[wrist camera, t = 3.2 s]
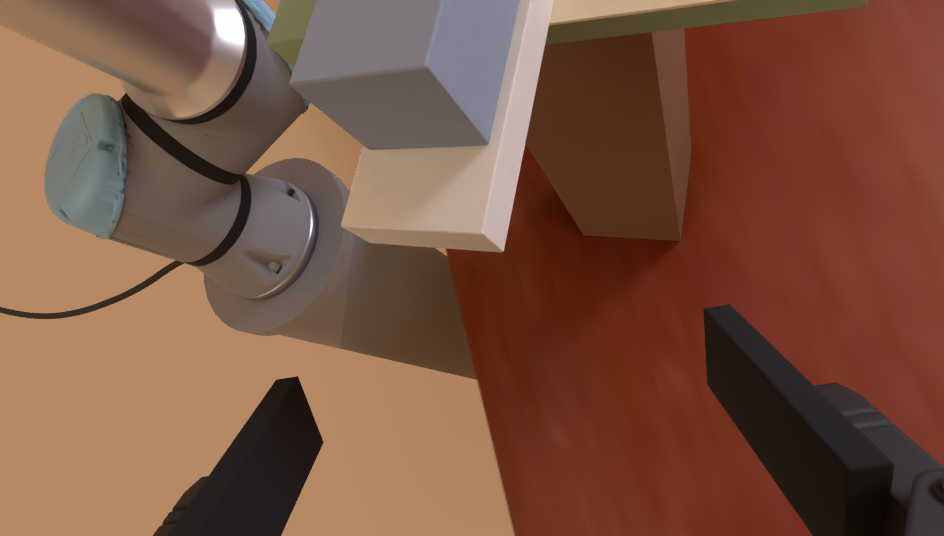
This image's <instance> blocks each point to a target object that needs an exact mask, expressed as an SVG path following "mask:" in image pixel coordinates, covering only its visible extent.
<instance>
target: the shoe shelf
mask: <svg viewBox="0 0 944 536" xmlns="http://www.w3.org/2000/svg"><path fill="white" fill-rule="evenodd" d="M315 2H316V0H281V1H280V4H279V7H278V10H277V13H276V16H275V19H274V22H273V25H272V27H271V30H270V33H269V36H268V39H267V42H266V43H267V45H268V46H269V47H271V48H272V49H273V50H274V51H275V52H276V53H277V54H279V55H280V56H281V57H282V58H283V59H284V60H285V61H286V62H288V63H289V64H290V65H291V66H292V67H293V68H294V66H295V63H296V60H297V57H298V54H299V51H300V48H301V45H302V42H303V39H304V36H305V32H306V29H307V26H308V23H309V20H310V17H311V14H312V11H313V8H314V5H315ZM868 2H869V0H554V2H553V7H552V12H551V17H550V22H549V27H548V32H547V37H546V42H545V47H544V52H543V57H542V62H541V67H540V72H539V77H538V82H537V87H536V92H535V97H534V102H533V107H532V112H531V117H530V122H529V127H528V132H527V137H526V142H525V143H526V145H527V146H528V148H529V150H530V151H531V153H532V154H533V156H534V157H535V159H536V161H537V162H538V164H539V165H540V167H541V169H542V170H543V172H544V173H545V175H546V177H547V178H548V180H549V181H550V183H551V185H552V186H553V188H554V189H555V191H556V192H557V194H558V196H559V197H560V199H561V200H562V202H563V204H564V205H565V207H566V208H567V210H568V212H569V213H570V215H571V216H572V218H573V220H574V221H575V223H576V224H577V226H578V227H579V229H580V231H581V232H582V234H583V235H584V236H601V237H618V238H635V239H652V240H669V241H681V235H682V227H683V219H684V210H685V202H686V193H687V185H688V177H689V168H690V160H691V138H690V121H689V103H688V86H687V68H686V51H685V33H684V28H692V27H700V26H709V25H717V24H726V23H734V22H743V21H751V20H760V19H768V18H777V17H785V16H794V15H802V14H811V13H819V12H828V11H836V10H845V9H854V8H862V7H866V6H867V4H868Z"/></svg>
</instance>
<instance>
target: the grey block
mask: <svg viewBox="0 0 944 536" xmlns="http://www.w3.org/2000/svg"><path fill="white" fill-rule="evenodd" d="M553 2H554V0H316V2H315V5H314V8H313V11H312V14H311V17H310V20H309V23H308V26H307V29H306V32H305V36H304V39H303V42H302V45H301V48H300V51H299V54H298V57H297V60H296V63H295V66H294V70H293V73H292V76H291V79H290V82H289V85H290V86H291V87H292V88H294V89H295V90H296V91H297V92H298V93H300V94H301V95H302V96H303V97H305V98H306V99H307V100H308V101H310V102H311V103H312V104H313V105H315V106H316V107H317V108H318V109H319V110H321V111H322V112H323V113H324V114H326V115H327V116H328V117H330V118H331V119H332V120H333V121H334V122H336V123H337V124H338V125H339V126H340V127H342V128H343V129H344V130H345V131H347V132H348V133H349V134H351V135H352V136H353V137H354V138H355V139H357V140H358V141H359V142H360V143H362V144H363V147H362V151H361V155H360V158H359V161H358V165H357V169H356V172H355V176H354V180H353V183H352V187H351V190H350V194H349V197H348V201H347V204H346V208H345V212H344V215H343V219H342V222H341V227H342V228H344V229H346V230H348V231H350V232H351V233H353V234H355V235H357V236H359V237H361V238H362V239H364V240H366V241H368V242H370V243H379V244H392V245H406V246H420V247H434V248H447V249H461V250H475V251H489V252H503V251H504V247H505V242H506V237H507V232H508V227H509V222H510V217H511V212H512V207H513V202H514V197H515V192H516V187H517V182H518V177H519V172H520V167H521V162H522V157H523V152H524V147H525V142H526V137H527V132H528V127H529V122H530V117H531V112H532V107H533V102H534V97H535V92H536V87H537V82H538V77H539V72H540V67H541V62H542V57H543V52H544V47H545V42H546V37H547V32H548V27H549V22H550V17H551V12H552V7H553Z"/></svg>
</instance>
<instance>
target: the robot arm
mask: <svg viewBox="0 0 944 536" xmlns="http://www.w3.org/2000/svg"><path fill="white" fill-rule="evenodd" d="M275 16H276V15H275V13H273V11H272V10H271V9H270V8H269V7H268V6H267V5H266V4H265V2H263V0H0V26H3V27H5V28H7V29H9V30H11V31H14V32H16V33H18V34H20V35H23V36H25V37H27V38H29V39H31V40H34V41H36V42H38V43H41V44H43V45H45V46H48V47H49V48H52V49H54V50H56V51H58V52H61V53H63V54H65V55H67V56H69V57H72V58H74V59H76V60H78V61H81V62H83V63H85V64H87V65H90V66H92V67H94V68H97V69H99V70H101V71H103V72H105V73H108V74H110V75H112V76H114V77H116V78H119V80H120V82H121V85H122V87H123V88H124V90H125V91H126V93H125V95H124V96H123V97H122V98H121V99H120V100H119V101H116V100H115V99H114V98H112V97H110V96H107V95H101V94H90V95H87V96H86V98H84V99H80V100H79V101H78V102H77V103H76V104H75V105H74V106H73V107H72V108H71V110H70V111H69V112H68V114H67V115H66V117H65V118H64V119H63V121H62V123H61V125H60V127H59V129H58V131H57V133H56V135H55V138H54V140H53V143H52V145H51V148H50V151H49V155H48V159H47V164H46V170H45V195H46V199H47V202H48V205H49V207H50V209H51V210H52V212H53V213H54V214H55V215H56V216H57V217H58V218H59V219H60V220H62V221H63V222H65V223H67V224H70V225H72V226H75V227H77V228H79V229H82V230H85V231H87V232H89V233H92V234H95V235H96V236H97V237H99V238H102V239H110V240H113V241H116V242H120V243H123V244H126V245H129V246H132V247H135V248H139V249H142V250H145V251H148V252H151V253H154V254H158V255H161V256H164V257H167V258H170V259H174V260H176V261H174V262H172V263H171V264H169V265H167V266H166V267H164V268H163V269H161V270H160V271H158V272H157V273H156V274H154V275H153V276H152V277H150V278H148V279H147V280H145V281H144V282H142V283H141V284H139V285H137V286H135V287H134V288H132V289H130V290H128V291H126V292H124V293H122V294H119V295H117V296H115V297H112V298H110V299H107V300H105V301H102V302H99V303H97V304H94V305H91V306H88V307H85V308H81V309H77V310H72V311H67V312H61V313H46V314H45V313H27V312H21V311H15V310H10V309H6V308H2V307H0V312H1V313H5V314H9V315H13V316H19V317H25V318H34V319H56V318H65V317H71V316H76V315H81V314H85V313H88V312H91V311H95V310H97V309H100V308H103V307H105V306H108V305H111V304H113V303H116V302H118V301H121V300H123V299H125V298H127V297H129V296H131V295H133V294H135V293H137V292H139V291H141V290H143V289H144V288H146V287H148V286H149V285H151V284H152V283H154V282H155V281H157V280H158V279H160V278H161V277H162V276H164V275H165V274H167V273H168V272H170V271H171V270H173V269H174V268H176V267H178V266H180V265H182V264H184V263H187V264H190V265H192V266H195V267H197V268H198V269H199V270H200V271H202V272H203V273H204V274H206V275H207V276H208V277H209V278H211V279H212V280H213V281H215V282H216V283H217V284H218V285H220V286H221V287H222V288H224V289H225V290H226V291H228V292H230V293H232V294H233V295H236V296H238V297H241V298H245V299H248V300H253V301H261V300H266V299H270V298H272V297H275V296H277V295H279V294H280V293H282V292H284V291H285V290H286V289H287V288H289V287H290V286H291V285H292V284H293V283H294V282H295V281H296V280H297V279H298V278H299V276H300V275H301V274H302V272H303V271H304V270H305V268H306V266H307V265H308V263H309V261H310V259H311V257H312V254H313V252H314V249H315V246H316V242H317V237H318V229H319V222H318V213H317V210H316V207H315V204H314V202H313V200H312V199H311V197H310V196H309V195H308V194H307V193H306V192H305V191H304V190H302V189H300V188H299V187H297V186H295V185H294V184H292V183H289V182H286V181H284V180H280V179H274V178H269V177H263V176H257V175H251V174H246V172H247V171H248V170H249V169H250V167H252V165H253V164H254V163H255V162H256V161H257V160H258V159H259V158H260V157H261V156H262V154H264V153H265V151H266V150H267V149H268V148H269V147H270V146H271V145H272V144H273V143H274V142H275V141H276V140H277V138H279V137H280V136H281V135H282V134H283V132H284V131H285V130H286V129H287V128H288V127H289V126H290V125H291V124H292V123H293V122H294V121H295V120H296V119H297V118H298V117H299V116H300V115H301V114H303V113H304V112H305V111H307V109H308V106H309V104H310V103H311V102H310V101H308V100H307V99H306V98H305V97H303V96H302V95H301V94H300V93H298V92H297V91H296V90H295V89H294V88H292V87H291V86H290V85H289V82H290V79H291V76H292V73H293V70H294V68H293V67H292V66H291V65H290V64H289V63H288V62H286V61H285V60H284V59H283V58H282V57H281V56H280V55H279V54H277V53H276V52H275V51H274V50H273V49H272V48H271V47H269V46H268V45H267V43H266V42H267V39H268V36H269V33H270V30H271V27H272V25H273V22H274V19H275ZM704 327H705V346H706V365H707V384H708V386H709V387H710V389H711V390H712V392H713V393H714V394H715V396H716V397H717V399H718V400H719V402H720V403H721V404H722V406H723V407H724V409H725V410H726V412H727V413H728V414H729V416H730V417H731V419H732V420H733V422H734V423H735V425H736V426H737V427H738V429H739V430H740V432H741V433H742V435H743V436H744V437H745V439H746V440H747V442H748V443H749V445H750V446H751V448H752V449H753V450H754V452H755V453H756V455H757V456H758V458H759V459H760V460H761V462H762V463H763V465H764V466H765V468H766V469H767V470H768V472H769V473H770V475H771V476H772V478H773V479H774V481H775V482H776V483H777V485H778V486H779V488H780V489H781V491H782V492H783V493H784V495H785V496H786V498H787V499H788V501H789V502H790V504H791V505H792V506H793V508H794V509H795V511H796V512H797V514H798V515H799V516H800V518H801V519H802V521H803V522H804V524H805V525H806V526H807V528H808V529H809V531H810V532H811V534H812V535H813V536H944V467H943V466H942V465H940V464H939V463H938V462H937V461H936V460H935V459H933V458H932V457H931V456H930V455H929V454H928V453H927V452H925V451H924V450H923V449H922V448H921V447H920V446H919V445H917V444H916V443H915V442H914V441H913V440H912V439H911V438H909V437H908V436H907V435H906V434H905V433H904V432H902V431H901V430H900V429H899V428H898V427H897V426H896V425H894V424H891V422H890V420H889V419H888V418H886V417H885V416H884V415H883V414H882V413H881V412H877V410H876V408H875V407H874V406H873V405H871V404H870V403H869V402H868V401H867V400H866V399H865V398H863V397H862V396H861V395H860V394H858V393H856V392H854V391H852V390H850V389H848V388H846V387H844V386H842V385H840V384H838V383H830V384H823V385H816V386H813V385H812V384H811V383H810V382H809V381H808V380H807V379H806V378H805V377H804V376H803V375H802V374H801V373H800V372H799V371H798V370H797V369H796V368H795V367H794V366H793V365H792V364H791V363H790V362H789V361H788V360H787V359H786V358H784V357H783V356H782V355H781V354H780V353H779V352H778V351H777V350H776V349H775V348H774V347H773V346H772V345H771V344H770V343H769V342H768V341H767V340H766V339H765V338H764V337H763V336H762V335H761V334H760V333H759V332H758V331H757V330H756V329H755V328H753V327H752V326H751V325H750V324H749V323H748V322H747V321H746V320H745V319H744V318H743V317H742V316H741V315H740V314H739V313H738V312H737V311H736V310H735V309H734V308H733V307H732V306H731V305H730V304H729V305H723V306H717V307H711V308H705V309H704ZM322 444H323V440H322V437H321V435H320V432H319V430H318V427H317V424H316V422H315V419H314V417H313V414H312V412H311V409H310V406H309V404H308V401H307V399H306V396H305V394H304V391H303V389H302V386H301V383H300V381H299V378H298V377H292V378H285V379H279V380H276V381H275V382H274V384H273V385H272V387H271V388H270V390H269V391H268V392H267V394H266V395H265V397H264V398H263V400H262V401H261V403H260V404H259V405H258V407H257V408H256V410H255V411H254V412H253V414H252V415H251V417H250V418H249V419H248V421H247V422H246V424H245V425H244V427H243V428H242V429H241V431H240V432H239V434H238V435H237V436H236V438H235V439H234V441H233V442H232V444H231V445H230V447H229V448H228V450H227V451H226V452H225V454H224V455H223V456H222V458H221V459H220V461H219V462H218V464H217V465H216V467H215V468H214V469H213V471H212V472H211V474H210V475H209V476H206V477H201V478H200V479H199V480H198V481H197V482H196V483H195V484H194V485H192V486H191V487H190V488H189V489H188V490H187V491H186V492H185V493H184V494H183V495H182V497H181V498H180V499H179V501H178V502H177V504H176V505H175V506H174V508H173V511H172V512H170V513H169V514H168V516H167V517H166V518H165V520H164V521H163V525H162V526H160V527H159V528H158V529H157V531H156V532H155V534H154V535H153V536H281V534H282V532H283V530H284V528H285V525H286V523H287V521H288V519H289V517H290V515H291V512H292V510H293V508H294V506H295V504H296V501H297V499H298V497H299V495H300V493H301V490H302V488H303V486H304V484H305V482H306V479H307V477H308V475H309V473H310V471H311V468H312V466H313V464H314V461H315V460H316V457H317V455H318V453H319V451H320V449H321V446H322Z"/></svg>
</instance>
